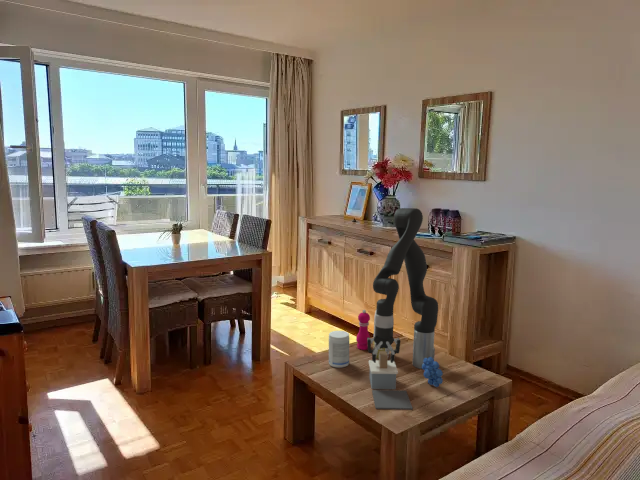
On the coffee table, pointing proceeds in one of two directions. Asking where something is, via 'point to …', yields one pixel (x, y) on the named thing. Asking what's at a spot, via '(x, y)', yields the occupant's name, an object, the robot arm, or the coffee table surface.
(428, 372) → the grapes
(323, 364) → the coffee table surface
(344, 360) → the supplement tub
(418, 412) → the coffee table surface
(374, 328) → the juice carton
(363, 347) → the pepper mill
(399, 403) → the rubber mat
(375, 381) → the storage box
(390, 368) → the lid
